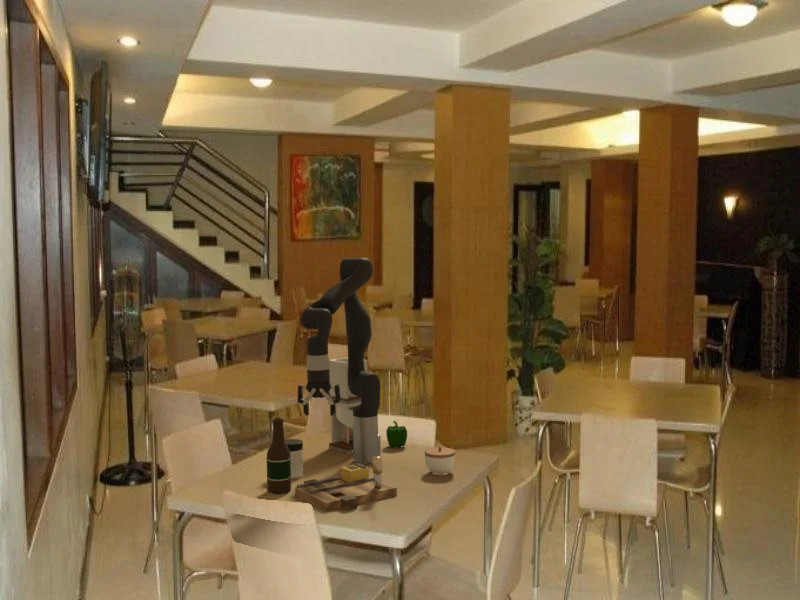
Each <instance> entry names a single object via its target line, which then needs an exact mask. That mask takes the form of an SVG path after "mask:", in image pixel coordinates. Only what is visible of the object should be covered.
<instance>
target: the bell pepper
mask: <svg viewBox="0 0 800 600" xmlns="http://www.w3.org/2000/svg"><path fill="white" fill-rule="evenodd" d="M392 422H393V424H394V425H393V426H392V425H389V426H388V427H387V428H386V433H385V435H386V440H387V443H388V445H389V447H390V446H391V447H390V448H392V447H398V448H401V447H400V446H404V447H405V445H406V444H407V443H406V442H407V439H408V430H407V427H406V426H405V425H401V426H398V422H397V421H396V420H393V421H392Z"/></svg>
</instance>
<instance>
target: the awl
mask: <svg viewBox="0 0 800 600" xmlns="http://www.w3.org/2000/svg"><path fill="white" fill-rule="evenodd" d="M372 473H373V477H374V488H375V489H380V488H382V483H381V481H382V474H383V456H382V455H381V456H373V463H372Z"/></svg>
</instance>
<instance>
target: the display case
mask: <svg viewBox="0 0 800 600" xmlns="http://www.w3.org/2000/svg"><path fill="white" fill-rule="evenodd" d="M364 369H365V372H368V359H364ZM329 372H330V384H331V385H336V384H339V387H340V398H341V400H340V402H339V403H336V404H335V414H334V415H333V416H331V415H330V436H331V437H330V439H331V440H330V442H329V443H328V449H329V448H330V449H329V450H333V449H334V450H333V451H337V450H338V451H337V452H340V451H342V452H341V453H344V452H345V453H344V454H347V453H348V454H350V453H349V452H352V451H353V408H354V407H355V406H358V405H360V404H361V396H356V395H353V394H352V393H351V392H350V390H349V388H348V356H347V357H340V358H332V359H329ZM329 393H330V394H331V395H332V397H333V399H334V400H335V399H336V398H335V392H334V391H333V389H332V388H331V389H330V391H329ZM328 395H329V394H328ZM327 401H328V400H327ZM327 403H328V404H329V405H331V404H330V402H329V401H328V402H327ZM352 453H353V452H352Z"/></svg>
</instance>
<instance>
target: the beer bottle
mask: <svg viewBox="0 0 800 600" xmlns="http://www.w3.org/2000/svg"><path fill="white" fill-rule="evenodd" d="M271 422H272V440H271V444H270V446H268V450H267V452H266V487H267V492H268V493H270V494H272V495H284V494H285V495H286V494H289V492H291V490H292V479H291V455H290V450H289V448H288V446H287V445H286V443H285V440H286V439H285V433H284V422H285V421H284V418H281V417H275V418H273V419H272V421H271Z"/></svg>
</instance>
